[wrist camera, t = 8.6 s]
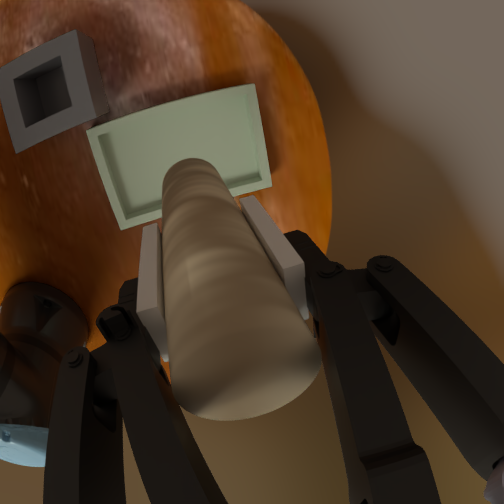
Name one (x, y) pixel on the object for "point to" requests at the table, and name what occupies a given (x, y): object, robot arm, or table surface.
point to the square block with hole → (51, 89)
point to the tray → (180, 148)
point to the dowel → (226, 305)
